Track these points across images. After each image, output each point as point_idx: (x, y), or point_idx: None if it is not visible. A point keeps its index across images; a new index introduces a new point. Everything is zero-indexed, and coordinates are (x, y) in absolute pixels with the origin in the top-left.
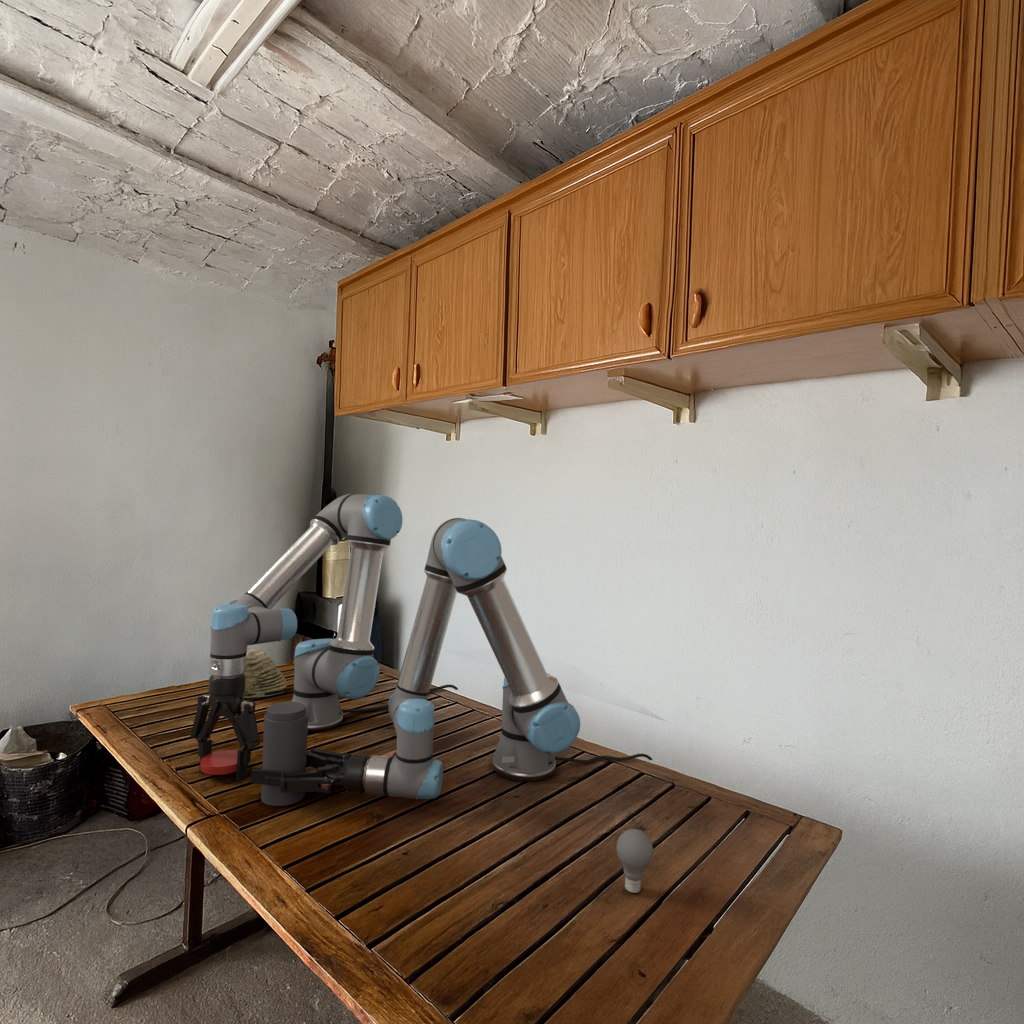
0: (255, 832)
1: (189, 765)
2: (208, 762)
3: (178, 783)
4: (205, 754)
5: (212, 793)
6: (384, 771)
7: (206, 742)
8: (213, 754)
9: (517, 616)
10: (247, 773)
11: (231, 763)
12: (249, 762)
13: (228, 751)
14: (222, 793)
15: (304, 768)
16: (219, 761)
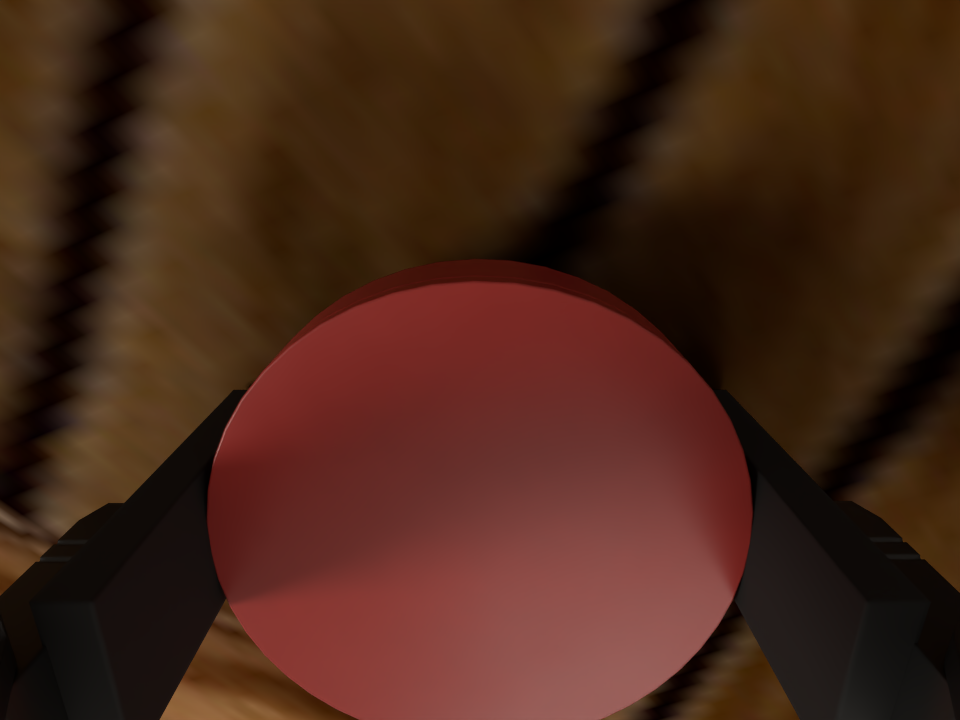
0: None
1: (16, 398)
2: (407, 683)
3: (271, 673)
4: (206, 576)
5: (636, 704)
6: None
7: (118, 707)
8: (271, 508)
9: None
10: (735, 401)
11: (673, 624)
12: (852, 509)
13: (367, 355)
14: (708, 683)
15: None
16: (500, 626)
